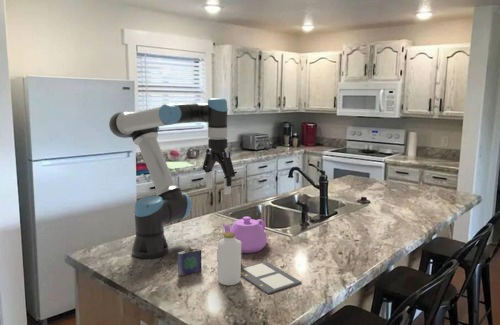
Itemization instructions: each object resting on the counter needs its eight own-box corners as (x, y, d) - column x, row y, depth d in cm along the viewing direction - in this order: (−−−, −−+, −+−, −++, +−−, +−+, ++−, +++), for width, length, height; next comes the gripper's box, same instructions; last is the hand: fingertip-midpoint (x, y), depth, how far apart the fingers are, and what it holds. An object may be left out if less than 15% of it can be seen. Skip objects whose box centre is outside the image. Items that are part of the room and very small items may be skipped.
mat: (267, 294, 141) (267, 292, 140) (233, 271, 159) (233, 269, 158) (301, 283, 149) (301, 281, 149) (265, 262, 167) (265, 261, 167)
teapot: (252, 236, 198) (252, 208, 195) (278, 246, 185) (279, 217, 182) (209, 248, 182) (209, 218, 179) (235, 260, 168) (235, 228, 166)
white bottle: (217, 276, 154) (217, 230, 151) (240, 276, 154) (240, 230, 151) (217, 287, 146) (217, 238, 143) (241, 286, 146) (241, 237, 143)
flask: (179, 277, 153) (178, 249, 151) (176, 274, 156) (176, 247, 154) (202, 272, 157) (202, 245, 156) (199, 269, 160) (199, 243, 158)
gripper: (244, 140, 155) (244, 195, 158) (209, 135, 175) (209, 184, 178) (227, 141, 150) (227, 198, 154) (193, 136, 170) (194, 186, 174)
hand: (218, 190), depth 166 cm, fingers open, 13 cm apart
